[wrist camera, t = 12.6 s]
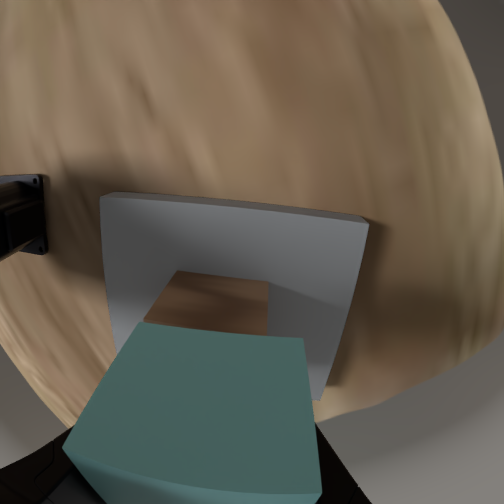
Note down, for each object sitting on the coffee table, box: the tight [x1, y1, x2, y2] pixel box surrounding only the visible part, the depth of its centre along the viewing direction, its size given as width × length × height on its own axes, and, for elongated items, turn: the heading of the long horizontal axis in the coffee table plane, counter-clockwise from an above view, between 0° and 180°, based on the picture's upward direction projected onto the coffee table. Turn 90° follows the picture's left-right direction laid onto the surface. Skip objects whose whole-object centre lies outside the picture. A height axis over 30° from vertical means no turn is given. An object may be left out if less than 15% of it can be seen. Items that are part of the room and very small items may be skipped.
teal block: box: [62, 322, 322, 504], centre depth 7 cm, size 5×5×5 cm
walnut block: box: [143, 270, 269, 336], centre depth 16 cm, size 6×6×6 cm
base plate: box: [100, 192, 369, 400], centre depth 20 cm, size 16×14×2 cm
